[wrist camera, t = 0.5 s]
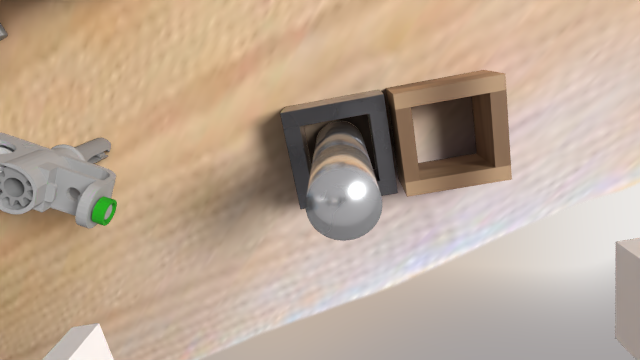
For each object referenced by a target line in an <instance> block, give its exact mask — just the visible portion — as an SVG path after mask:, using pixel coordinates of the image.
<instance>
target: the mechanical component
mask: <svg viewBox="0 0 640 360" xmlns="http://www.w3.org/2000/svg"><path fill="white" fill-rule="evenodd" d="M110 148H111V143H110V142H109V141H108V140H106V139H104V138H97V139H94V140H92V141H89V142H87V143H84V144H82V145H79V146H77V147H72V146H69V145H57V146H55V147H53V148H52V149H49V148H46V147H43V146H40V145H37V144H34V143H31V142H28V141H25V140H22V139H19V138H16V137H14V136H11V135H8V134H4V133H0V210H2V211H4V212H7V213H10V214H22V213H25V212H27V211H29V210H31V209H34V210H37V211H40V212H44V211H45V210H47V209H49V208H53V209H56V210H59V211H62V212H65V213H68V214H71V215H75V216H76V223H77V224H78V225H80V226H83V227H86V228H93V227H94V226H95V225H97V224H101V225H104V226H105V225H107V224H108V223H109V222H110V221H111V219H112V217H113V215H114V213H115V210H116V206H117V202H116V200H114V199H111V196H112V192H113V187H114V183H115V179H116V175H115V173H114V172H112V171H111V170H109V169H107V168H104V167H101V166H98V165H95V164H94V163H96V162H98V161H100V160H102V159H104V158H106V157H108V155H105V153H104V152H103V151H108V152H109V151H110ZM1 190H2V191H1Z"/></svg>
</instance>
